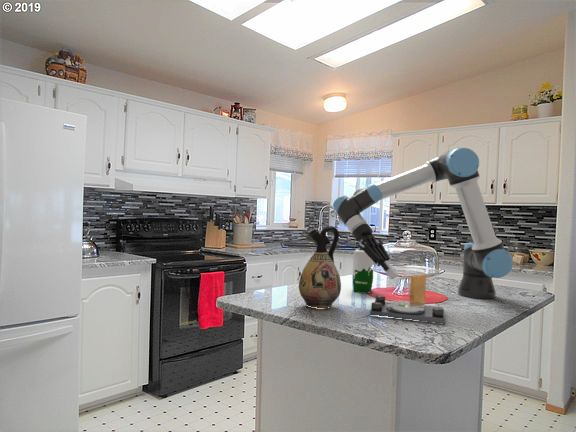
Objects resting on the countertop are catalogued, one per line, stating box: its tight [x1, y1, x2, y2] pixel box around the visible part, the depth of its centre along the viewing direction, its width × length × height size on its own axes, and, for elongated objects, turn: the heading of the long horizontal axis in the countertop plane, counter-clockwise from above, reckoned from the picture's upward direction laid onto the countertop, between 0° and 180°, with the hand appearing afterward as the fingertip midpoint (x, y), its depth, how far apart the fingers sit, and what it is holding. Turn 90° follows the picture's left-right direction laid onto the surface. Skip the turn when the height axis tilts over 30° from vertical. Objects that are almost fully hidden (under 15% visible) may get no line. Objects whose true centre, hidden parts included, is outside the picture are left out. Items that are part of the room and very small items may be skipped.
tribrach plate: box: [369, 294, 446, 324], centre depth 154 cm, size 24×17×4 cm
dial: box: [386, 273, 427, 314], centre depth 154 cm, size 18×13×11 cm
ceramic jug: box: [298, 225, 342, 309], centre depth 161 cm, size 17×15×30 cm
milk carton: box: [352, 247, 375, 293], centre depth 193 cm, size 9×9×20 cm
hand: (394, 276), depth 162 cm, fingers closed
